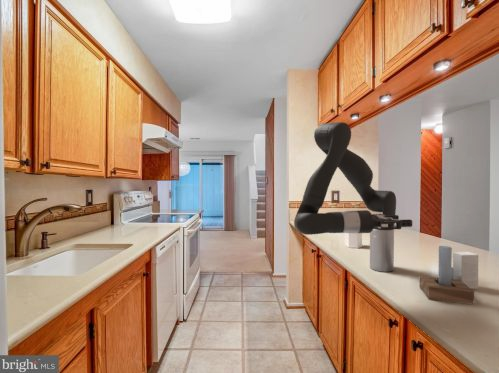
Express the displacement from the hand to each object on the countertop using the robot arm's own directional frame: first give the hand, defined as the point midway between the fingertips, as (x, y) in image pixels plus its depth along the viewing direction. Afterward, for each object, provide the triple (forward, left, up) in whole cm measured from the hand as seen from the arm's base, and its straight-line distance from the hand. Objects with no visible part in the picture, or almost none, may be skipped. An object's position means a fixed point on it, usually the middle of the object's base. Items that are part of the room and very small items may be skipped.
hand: (404, 220), depth 90 cm
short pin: (-11, +16, -25) cm, 31 cm away
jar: (-62, -12, -25) cm, 67 cm away
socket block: (-3, +13, -25) cm, 28 cm away
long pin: (-3, +13, -25) cm, 28 cm away
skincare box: (-13, +22, -25) cm, 36 cm away
